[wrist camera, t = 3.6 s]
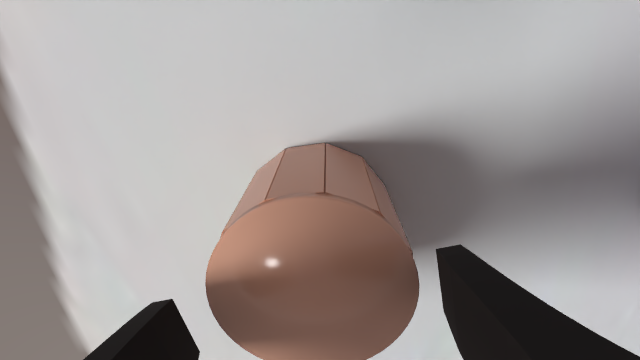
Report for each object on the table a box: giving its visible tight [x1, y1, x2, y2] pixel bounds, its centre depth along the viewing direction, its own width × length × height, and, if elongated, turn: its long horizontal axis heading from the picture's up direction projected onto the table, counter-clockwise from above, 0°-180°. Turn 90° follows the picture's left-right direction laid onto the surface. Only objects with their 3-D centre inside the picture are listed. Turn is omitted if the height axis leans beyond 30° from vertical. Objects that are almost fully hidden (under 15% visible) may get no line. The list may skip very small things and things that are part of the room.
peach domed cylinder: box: [206, 143, 419, 360], centre depth 11 cm, size 6×6×5 cm
